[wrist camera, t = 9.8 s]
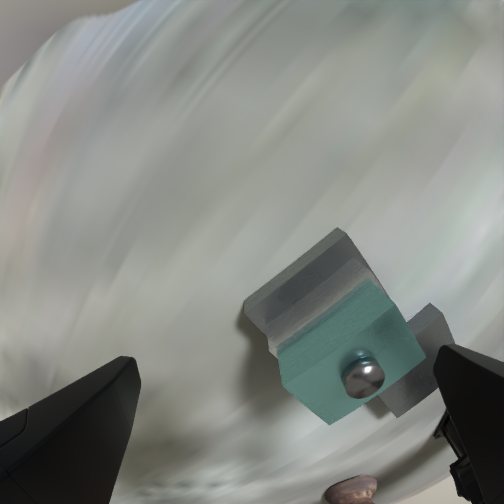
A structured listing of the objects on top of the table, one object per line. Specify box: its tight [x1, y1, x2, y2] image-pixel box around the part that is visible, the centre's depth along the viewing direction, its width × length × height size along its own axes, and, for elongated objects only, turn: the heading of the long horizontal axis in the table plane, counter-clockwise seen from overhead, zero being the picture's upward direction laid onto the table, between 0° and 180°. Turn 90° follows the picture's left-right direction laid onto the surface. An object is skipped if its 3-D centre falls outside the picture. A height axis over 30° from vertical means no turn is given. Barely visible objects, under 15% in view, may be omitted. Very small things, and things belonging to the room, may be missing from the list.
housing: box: [266, 257, 426, 425], centre depth 15 cm, size 7×5×7 cm
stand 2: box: [378, 303, 455, 418], centre depth 21 cm, size 8×8×2 cm
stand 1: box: [244, 227, 389, 338], centre depth 20 cm, size 8×8×2 cm
